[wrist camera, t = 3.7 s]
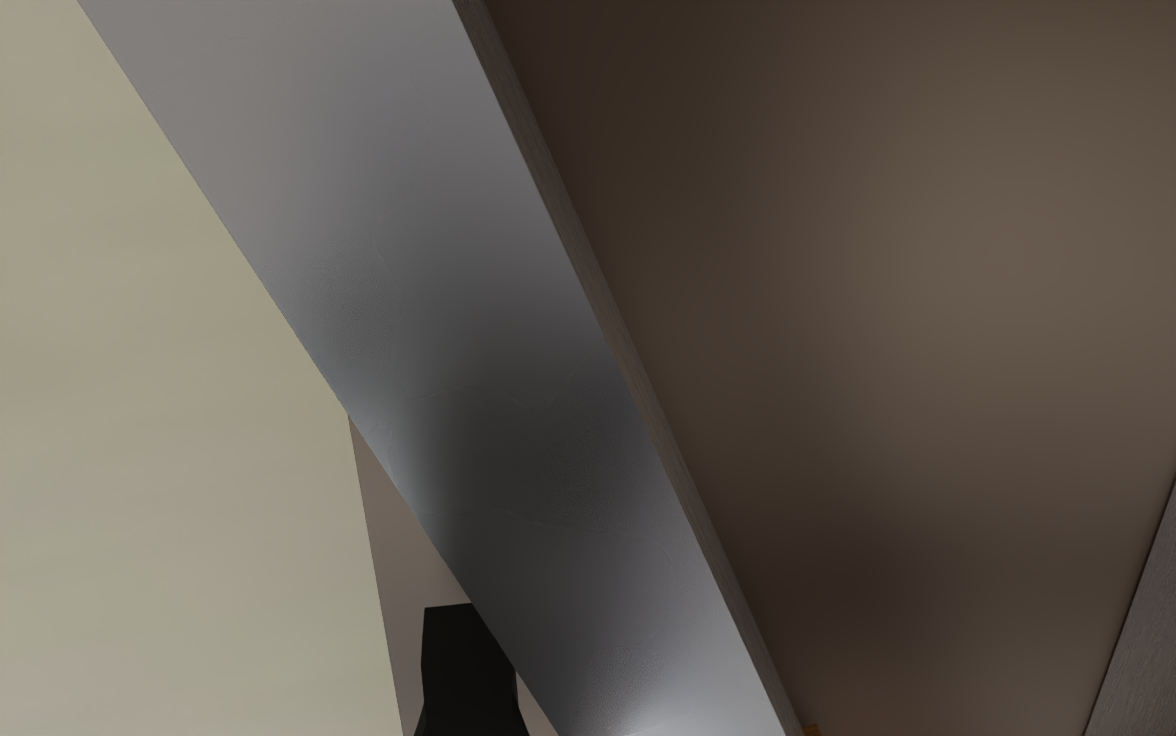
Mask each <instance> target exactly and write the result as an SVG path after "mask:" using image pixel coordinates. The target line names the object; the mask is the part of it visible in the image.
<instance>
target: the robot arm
mask: <svg viewBox="0 0 1176 736" xmlns="http://www.w3.org/2000/svg"><path fill="white" fill-rule="evenodd" d="M421 674H422V685H423V696H424V704H423V707H422V711H421V714H420V718H419V721H418V724H417V727H416V730H415V733H414V736H530V735H529V732H528V730H527V727H526V725H525V722H524V720H523V717H522V714H521V712H520V709H519V702H518V691H517V679H516V670H515V668H514V667H513V665H512V664H511V662H510V660H509V659H508V657H507V656H506V654H505V653H504V651H503V650H502V648H501V647H500V645H499V644H498V642H497V641H496V639H495V638H494V636H493V635H492V633H491V631H490V630H489V628H488V627H487V625H486V624H485V622H484V621H483V619H482V618H481V616H480V615H479V613H478V612H477V610H476V609H475V607H474V606H473V604H472V603H463V604H454V605H444V606H435V607H425V608H424V621H423V634H422V650H421Z"/></svg>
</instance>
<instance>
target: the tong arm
mask: <svg viewBox="0 0 1176 736" xmlns="http://www.w3.org/2000/svg"><path fill="white" fill-rule="evenodd" d="M77 1H78V3H79V4H80V6H81V7H82V9H83V10H84V12H85V13H86V15H87V16H88V18H89V19H90V21H91V23H92V24H93V26H94V27H95V29H96V30H97V32H98V33H99V35H100V36H101V38H102V39H103V41H104V42H105V44H106V45H107V47H108V48H109V50H110V52H111V53H112V55H113V56H114V58H115V59H116V61H117V62H118V64H119V65H120V67H121V68H122V70H123V71H124V73H125V74H126V76H127V77H128V79H129V81H130V82H131V84H132V85H133V87H134V88H135V90H136V91H137V93H138V94H139V96H140V97H141V99H142V100H143V102H144V103H145V105H146V106H147V108H148V110H149V111H150V113H151V114H152V116H153V117H154V119H155V120H156V122H157V123H158V125H159V126H160V128H161V129H162V131H163V132H164V134H165V135H166V137H167V139H168V140H169V142H170V143H171V145H172V146H173V148H174V149H175V151H176V152H177V154H178V155H179V157H180V158H181V160H182V161H183V163H184V164H185V166H186V168H187V169H188V171H189V172H190V174H191V175H192V177H193V178H194V180H195V181H196V183H197V184H198V186H199V187H200V189H201V190H202V192H203V193H204V195H205V197H206V198H207V200H208V201H209V203H210V204H211V206H212V207H213V209H214V210H215V212H216V213H217V215H218V216H219V218H220V219H221V221H222V222H223V224H224V226H225V227H226V229H227V230H228V232H229V233H230V235H231V236H232V238H233V239H234V241H235V242H236V244H237V245H238V247H239V248H240V250H241V251H242V253H243V255H244V256H245V258H246V259H247V261H248V262H249V264H250V265H251V267H252V268H253V270H254V271H255V273H256V274H257V276H258V277H259V279H260V280H261V282H262V284H263V285H264V287H265V288H266V290H267V291H268V293H269V294H270V296H271V297H272V299H273V300H274V302H275V303H276V305H277V306H278V308H279V309H280V311H281V313H282V314H283V316H284V317H285V319H286V320H287V322H288V323H289V325H290V326H291V328H292V329H293V331H294V332H295V334H296V335H297V337H298V338H299V340H300V342H301V343H302V345H303V346H304V348H305V349H306V351H307V352H308V354H309V355H310V357H311V358H312V360H313V361H314V363H315V364H316V366H317V367H318V369H319V370H320V372H321V374H322V375H323V377H324V378H325V380H326V381H327V383H328V384H329V386H330V387H331V389H332V390H333V392H334V393H335V395H336V396H337V398H338V399H339V401H340V403H341V404H342V406H343V407H344V409H345V410H346V412H347V413H348V415H349V416H350V418H351V419H352V421H353V422H354V424H355V425H356V427H357V428H358V430H359V432H360V433H361V435H362V436H363V438H364V439H365V441H366V442H367V444H368V445H369V447H370V448H371V450H372V451H373V453H374V454H375V456H376V457H377V459H378V461H379V462H380V464H381V465H382V467H383V468H384V470H385V471H386V473H387V474H388V476H389V477H390V479H391V480H392V482H393V483H394V485H395V486H396V488H397V490H398V491H399V493H400V494H401V496H402V497H403V499H404V500H405V502H406V503H407V505H408V506H409V508H410V509H411V511H412V512H413V514H414V515H415V517H416V519H417V520H418V522H419V523H420V525H421V526H422V528H423V529H424V531H425V532H426V534H427V535H428V537H429V538H430V540H431V541H432V543H433V544H434V546H435V548H436V549H437V551H438V552H439V554H440V555H441V557H442V558H443V560H444V561H445V563H446V564H447V566H448V567H449V569H450V570H451V572H452V573H453V575H454V577H455V578H456V580H457V581H458V583H459V584H460V586H461V587H462V589H463V590H464V592H465V593H466V595H467V596H468V598H469V599H470V601H471V602H472V604H473V606H474V607H475V609H476V610H477V612H478V613H479V615H480V616H481V618H482V619H483V621H484V622H485V624H486V625H487V627H488V628H489V630H490V631H491V633H492V635H493V636H494V638H495V639H496V641H497V642H498V644H499V645H500V647H501V648H502V650H503V651H504V653H505V654H506V656H507V657H508V659H509V660H510V662H511V664H512V665H513V667H514V668H515V670H516V671H517V673H518V674H519V676H520V677H521V679H522V680H523V682H524V683H525V685H526V686H527V688H528V689H529V691H530V693H531V694H532V696H533V697H534V699H535V700H536V702H537V703H538V705H539V706H540V708H541V709H542V711H543V712H544V714H545V715H546V717H547V718H548V720H549V722H550V723H551V725H552V726H553V728H554V729H555V731H556V732H557V734H558V735H559V736H822V734H821V732H820V729H819V727H818V725H817V723H815V724H812V725H810V726H807V727H804V728H801V726H800V723H799V721H798V719H797V716H796V714H795V712H794V709H793V707H792V705H791V703H790V700H789V698H788V696H787V693H786V691H785V689H784V687H783V684H782V682H781V680H780V677H779V675H778V673H777V671H776V668H775V666H774V664H773V661H772V659H771V657H770V655H769V652H768V650H767V648H766V645H765V643H764V641H763V639H762V636H761V634H760V632H759V629H758V627H757V625H756V623H755V620H754V618H753V616H752V613H751V611H750V609H749V607H748V604H747V602H746V600H745V597H744V595H743V593H742V591H741V588H740V586H739V584H738V581H737V579H736V577H735V575H734V572H733V570H732V568H731V565H730V563H729V561H728V559H727V556H726V554H725V552H724V549H723V547H722V545H721V543H720V540H719V538H718V536H717V533H716V531H715V529H714V527H713V524H712V522H711V520H710V517H709V515H708V513H707V511H706V508H705V506H704V504H703V501H702V499H701V497H700V495H699V492H698V490H697V488H696V485H695V483H694V481H693V479H692V476H691V474H690V472H689V469H688V467H687V465H686V463H685V460H684V458H683V456H682V453H681V451H680V449H679V446H678V444H677V442H676V440H675V437H674V435H673V433H672V430H671V428H670V426H669V424H668V421H667V419H666V417H665V414H664V412H663V410H662V408H661V405H660V403H659V401H658V398H657V396H656V394H655V392H654V389H653V387H652V385H651V382H650V380H649V378H648V376H647V373H646V371H645V369H644V366H643V364H642V362H641V360H640V357H639V355H638V353H637V350H636V348H635V346H634V344H633V341H632V339H631V337H630V334H629V332H628V330H627V328H626V325H625V323H624V321H623V318H622V316H621V314H620V312H619V309H618V307H617V305H616V302H615V300H614V298H613V296H612V293H611V291H610V289H609V286H608V284H607V282H606V280H605V277H604V275H603V273H602V270H601V268H600V266H599V264H598V261H597V259H596V257H595V254H594V252H593V250H592V248H591V245H590V243H589V241H588V238H587V236H586V234H585V232H584V229H583V227H582V225H581V222H580V220H579V218H578V216H577V213H576V211H575V209H574V206H573V204H572V202H571V200H570V197H569V195H568V193H567V190H566V188H565V186H564V183H563V181H562V179H561V177H560V174H559V172H558V170H557V167H556V165H555V163H554V161H553V158H552V156H551V154H550V151H549V149H548V147H547V145H546V142H545V140H544V138H543V135H542V133H541V131H540V129H539V126H538V124H537V122H536V119H535V117H534V115H533V113H532V110H531V108H530V106H529V103H528V101H527V99H526V97H525V94H524V92H523V90H522V87H521V85H520V83H519V81H518V78H517V76H516V74H515V71H514V69H513V67H512V65H511V62H510V60H509V58H508V55H507V53H506V51H505V49H504V46H503V44H502V42H501V39H500V37H499V35H498V33H497V30H496V28H495V26H494V23H493V21H492V19H491V17H490V14H489V12H488V10H487V7H486V5H485V3H484V1H483V0H77Z"/></svg>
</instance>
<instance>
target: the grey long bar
mask: <svg viewBox="0 0 1176 736" xmlns="http://www.w3.org/2000/svg"><path fill="white" fill-rule="evenodd" d="M1085 736H1176V482H1175V485H1174V488H1173V491H1172V494H1171V496H1170V499H1169V502H1168V505H1167V507H1166V510H1165V513H1164V516H1163V519H1162V521H1161V524H1160V527H1159V530H1158V533H1157V535H1156V538H1155V541H1154V544H1153V546H1152V549H1151V552H1150V555H1149V558H1148V560H1147V563H1146V566H1145V569H1144V572H1143V574H1142V577H1141V580H1140V583H1139V585H1138V588H1137V591H1136V594H1135V597H1134V599H1133V602H1132V605H1131V608H1130V611H1129V613H1128V616H1127V619H1126V622H1125V624H1124V627H1123V630H1122V633H1121V636H1120V638H1119V641H1118V644H1117V647H1116V649H1115V652H1114V655H1113V658H1112V661H1111V663H1110V666H1109V669H1108V672H1107V675H1106V677H1105V680H1104V683H1103V686H1102V688H1101V691H1100V694H1099V697H1098V700H1097V702H1096V705H1095V708H1094V711H1093V714H1092V716H1091V719H1090V722H1089V725H1088V727H1087V730H1086V733H1085Z"/></svg>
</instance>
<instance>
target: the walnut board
mask: <svg viewBox="0 0 1176 736" xmlns="http://www.w3.org/2000/svg"><path fill="white" fill-rule="evenodd" d="M483 1H484V3H485V5H486V7H487V10H488V12H489V14H490V17H491V19H492V21H493V23H494V26H495V28H496V30H497V33H498V35H499V37H500V39H501V42H502V44H503V46H504V49H505V51H506V53H507V55H508V58H509V60H510V62H511V65H512V67H513V69H514V71H515V74H516V76H517V78H518V81H519V83H520V85H521V87H522V90H523V92H524V94H525V97H526V99H527V101H528V103H529V106H530V108H531V110H532V113H533V115H534V117H535V119H536V122H537V124H538V126H539V129H540V131H541V133H542V135H543V138H544V140H545V142H546V145H547V147H548V149H549V151H550V154H551V156H552V158H553V161H554V163H555V165H556V167H557V170H558V172H559V174H560V177H561V179H562V181H563V183H564V186H565V188H566V190H567V193H568V195H569V197H570V200H571V202H572V204H573V206H574V209H575V211H576V213H577V216H578V218H579V220H580V222H581V225H582V227H583V229H584V232H585V234H586V236H587V238H588V241H589V243H590V245H591V248H592V250H593V252H594V254H595V257H596V259H597V261H598V264H599V266H600V268H601V270H602V273H603V275H604V277H605V280H606V282H607V284H608V286H609V289H610V291H611V293H612V296H613V298H614V300H615V302H616V305H617V307H618V309H619V312H620V314H621V316H622V318H623V321H624V323H625V325H626V328H627V330H628V332H629V334H630V337H631V339H632V341H633V344H634V346H635V348H636V350H637V353H638V355H639V357H640V360H641V362H642V364H643V366H644V369H645V371H646V373H647V376H648V378H649V380H650V382H651V385H652V387H653V389H654V392H655V394H656V396H657V398H658V401H659V403H660V405H661V408H662V410H663V412H664V414H665V417H666V419H667V421H668V424H669V426H670V428H671V430H672V433H673V435H674V437H675V440H676V442H677V444H678V446H679V449H680V451H681V453H682V456H683V458H684V460H685V463H686V465H687V467H688V469H689V472H690V474H691V476H692V479H693V481H694V483H695V485H696V488H697V490H698V492H699V495H700V497H701V499H702V501H703V504H704V506H705V508H706V511H707V513H708V515H709V517H710V520H711V522H712V524H713V527H714V529H715V531H716V533H717V536H718V538H719V540H720V543H721V545H722V547H723V549H724V552H725V554H726V556H727V559H728V561H729V563H730V565H731V568H732V570H733V572H734V575H735V577H736V579H737V581H738V584H739V586H740V588H741V591H742V593H743V595H744V597H745V600H746V602H747V604H748V607H749V609H750V611H751V613H752V616H753V618H754V620H755V623H756V625H757V627H758V629H759V632H760V634H761V636H762V639H763V641H764V643H765V645H766V648H767V650H768V652H769V655H770V657H771V659H772V661H773V664H774V666H775V668H776V671H777V673H778V675H779V677H780V680H781V682H782V684H783V687H784V689H785V691H786V693H787V696H788V698H789V700H790V703H791V705H792V707H793V709H794V712H795V714H796V716H797V719H798V721H799V723H800V726H801V728H804V727H807V726H810V725H812V724H815V723H817V725H818V727H819V729H820V732H821V734H822V736H1085V733H1086V730H1087V727H1088V725H1089V722H1090V719H1091V716H1092V714H1093V711H1094V708H1095V705H1096V702H1097V700H1098V697H1099V694H1100V691H1101V688H1102V686H1103V683H1104V680H1105V677H1106V675H1107V672H1108V669H1109V666H1110V663H1111V661H1112V658H1113V655H1114V652H1115V649H1116V647H1117V644H1118V641H1119V638H1120V636H1121V633H1122V630H1123V627H1124V624H1125V622H1126V619H1127V616H1128V613H1129V611H1130V608H1131V605H1132V602H1133V599H1134V597H1135V594H1136V591H1137V588H1138V585H1139V583H1140V580H1141V577H1142V574H1143V572H1144V569H1145V566H1146V563H1147V560H1148V558H1149V555H1150V552H1151V549H1152V546H1153V544H1154V541H1155V538H1156V535H1157V533H1158V530H1159V527H1160V524H1161V521H1162V519H1163V516H1164V513H1165V510H1166V507H1167V505H1168V502H1169V499H1170V496H1171V494H1172V491H1173V488H1174V485H1175V482H1176V0H483ZM348 419H349V425H350V431H351V436H352V442H353V448H354V454H355V460H356V465H357V471H358V477H359V483H360V488H361V494H362V500H363V506H364V511H365V517H366V523H367V529H368V535H369V540H370V546H371V552H372V558H373V563H374V569H375V575H376V581H377V587H378V592H379V598H380V604H381V610H382V615H383V621H384V627H385V633H386V639H387V644H388V650H389V656H390V662H391V667H392V673H393V679H394V685H395V691H396V696H397V702H398V708H399V714H400V719H401V725H402V731H403V736H414V733H415V730H416V727H417V724H418V721H419V718H420V714H421V711H422V707H423V704H424V696H423V685H422V674H421V650H422V634H423V621H424V608H425V607H435V606H444V605H454V604H463V603H472V602H471V601H470V599H469V598H468V596H467V595H466V593H465V592H464V590H463V589H462V587H461V586H460V584H459V583H458V581H457V580H456V578H455V577H454V575H453V573H452V572H451V570H450V569H449V567H448V566H447V564H446V563H445V561H444V560H443V558H442V557H441V555H440V554H439V552H438V551H437V549H436V548H435V546H434V544H433V543H432V541H431V540H430V538H429V537H428V535H427V534H426V532H425V531H424V529H423V528H422V526H421V525H420V523H419V522H418V520H417V519H416V517H415V515H414V514H413V512H412V511H411V509H410V508H409V506H408V505H407V503H406V502H405V500H404V499H403V497H402V496H401V494H400V493H399V491H398V490H397V488H396V486H395V485H394V483H393V482H392V480H391V479H390V477H389V476H388V474H387V473H386V471H385V470H384V468H383V467H382V465H381V464H380V462H379V461H378V459H377V457H376V456H375V454H374V453H373V451H372V450H371V448H370V447H369V445H368V444H367V442H366V441H365V439H364V438H363V436H362V435H361V433H360V432H359V430H358V428H357V427H356V425H355V424H354V422H353V421H352V419H351V418H350V416H349V415H348ZM516 679H517V691H518V702H519V709H520V712H521V714H522V717H523V720H524V722H525V725H526V727H527V730H528V732H529V735H530V736H559V735H558V734H557V732H556V731H555V729H554V728H553V726H552V725H551V723H550V722H549V720H548V718H547V717H546V715H545V714H544V712H543V711H542V709H541V708H540V706H539V705H538V703H537V702H536V700H535V699H534V697H533V696H532V694H531V693H530V691H529V689H528V688H527V686H526V685H525V683H524V682H523V680H522V679H521V677H520V676H519V674H518V673H517V671H516Z"/></svg>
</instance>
